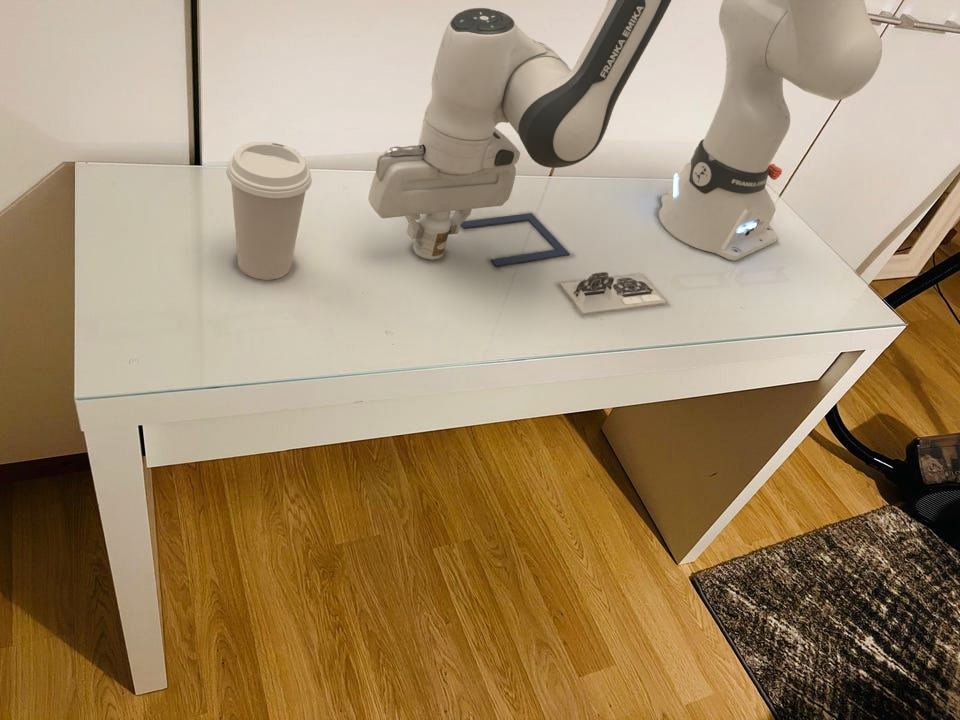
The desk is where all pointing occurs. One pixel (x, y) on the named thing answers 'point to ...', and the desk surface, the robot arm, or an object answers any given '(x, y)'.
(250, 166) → the coffee cup
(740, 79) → the robot arm
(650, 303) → the car cutout
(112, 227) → the desk surface
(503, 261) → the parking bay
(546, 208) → the desk surface
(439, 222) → the pill bottle
